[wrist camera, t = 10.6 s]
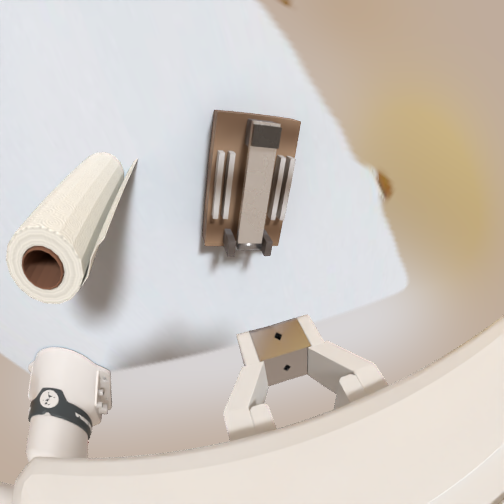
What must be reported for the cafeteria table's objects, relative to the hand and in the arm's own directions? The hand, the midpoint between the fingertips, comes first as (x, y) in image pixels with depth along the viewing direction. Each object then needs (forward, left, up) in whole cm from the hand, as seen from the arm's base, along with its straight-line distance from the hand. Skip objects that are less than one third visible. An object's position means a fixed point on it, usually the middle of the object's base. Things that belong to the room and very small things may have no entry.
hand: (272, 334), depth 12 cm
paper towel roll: (-2, +12, -29) cm, 32 cm away
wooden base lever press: (-2, -6, -29) cm, 30 cm away
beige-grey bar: (-2, -6, -24) cm, 25 cm away
